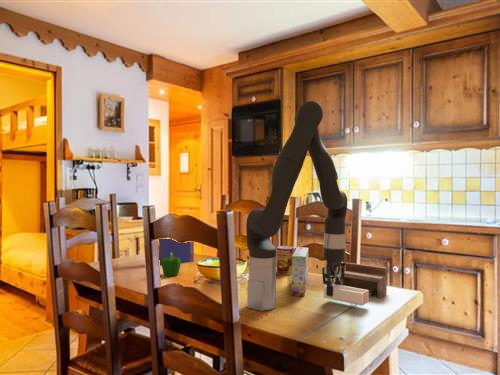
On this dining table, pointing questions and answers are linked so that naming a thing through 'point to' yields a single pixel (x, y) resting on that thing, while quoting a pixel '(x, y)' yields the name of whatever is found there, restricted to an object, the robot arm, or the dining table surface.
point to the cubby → (366, 278)
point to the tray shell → (348, 294)
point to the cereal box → (176, 250)
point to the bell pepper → (171, 265)
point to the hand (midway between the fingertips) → (333, 293)
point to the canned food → (284, 260)
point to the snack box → (299, 271)
